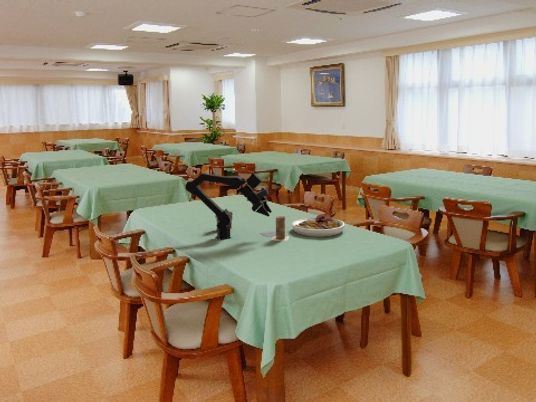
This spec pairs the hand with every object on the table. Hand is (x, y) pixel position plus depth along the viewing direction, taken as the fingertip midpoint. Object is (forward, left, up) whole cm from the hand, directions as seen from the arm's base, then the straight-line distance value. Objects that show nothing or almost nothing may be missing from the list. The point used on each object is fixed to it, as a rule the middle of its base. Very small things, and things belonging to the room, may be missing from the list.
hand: (270, 214), depth 267 cm
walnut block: (+4, -4, -13) cm, 15 cm away
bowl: (+31, -2, -14) cm, 34 cm away
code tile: (+4, -4, -14) cm, 15 cm away
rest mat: (+4, +7, -14) cm, 16 cm away
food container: (-13, +34, -14) cm, 39 cm away
